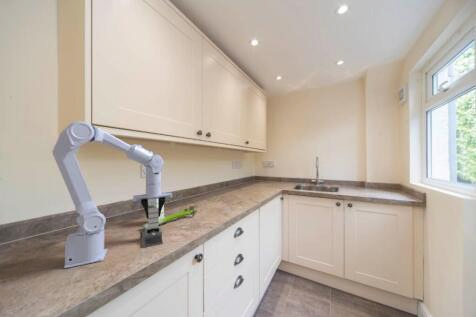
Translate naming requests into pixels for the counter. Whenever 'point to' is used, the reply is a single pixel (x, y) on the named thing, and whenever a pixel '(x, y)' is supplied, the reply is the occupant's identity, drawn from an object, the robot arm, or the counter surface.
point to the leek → (174, 216)
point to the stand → (151, 237)
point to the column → (153, 218)
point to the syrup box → (155, 206)
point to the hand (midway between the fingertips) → (153, 216)
